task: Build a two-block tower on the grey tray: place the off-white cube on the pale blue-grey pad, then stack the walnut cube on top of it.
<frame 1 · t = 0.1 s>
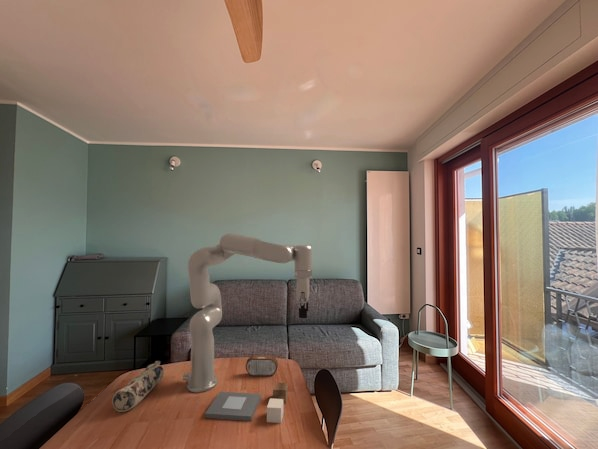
hand: (303, 314, 109), 31 cm above the table, tool pointing down, fingers open, 9 cm apart
off-white block: (275, 417, 90), on the table
walnut block: (280, 399, 101), on the table
grey tray: (234, 407, 96), on the table
tin: (261, 375, 119), on the table
pencil case: (139, 398, 103), on the table
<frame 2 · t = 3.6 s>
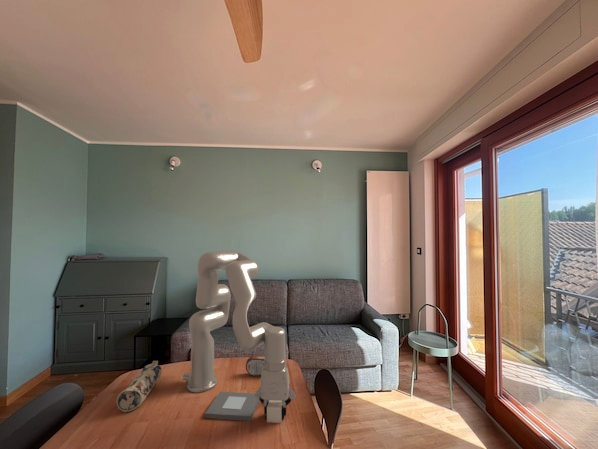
hand: (275, 415, 90), 0 cm above the table, tool pointing down, fingers closed on off-white block, 5 cm apart
off-white block: (275, 417, 90), on the table, touching gripper
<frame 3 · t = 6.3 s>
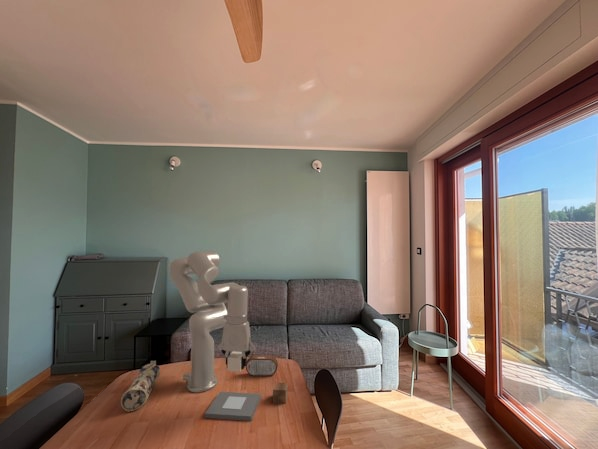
hand: (236, 366, 97), 15 cm above the table, tool pointing down, fingers closed on off-white block, 5 cm apart
off-white block: (236, 368, 97), point 14 cm above the table, touching gripper
when the fingers open (3 cm above the table, at t = 9.2 s): off-white block stays where it is, resting on grey tray.
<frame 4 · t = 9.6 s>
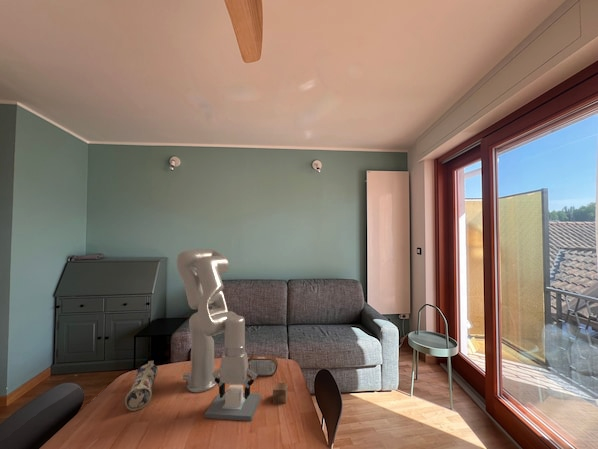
hand: (234, 396, 96), 4 cm above the table, tool pointing down, fingers open, 9 cm apart
off-white block: (234, 402, 96), point 2 cm above the table, touching grey tray
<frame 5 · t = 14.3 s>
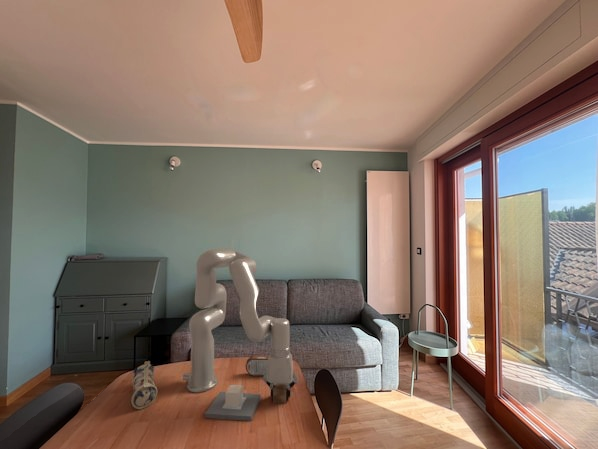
hand: (280, 397, 101), 0 cm above the table, tool pointing down, fingers closed on walnut block, 5 cm apart
walnut block: (280, 399, 101), on the table, touching gripper
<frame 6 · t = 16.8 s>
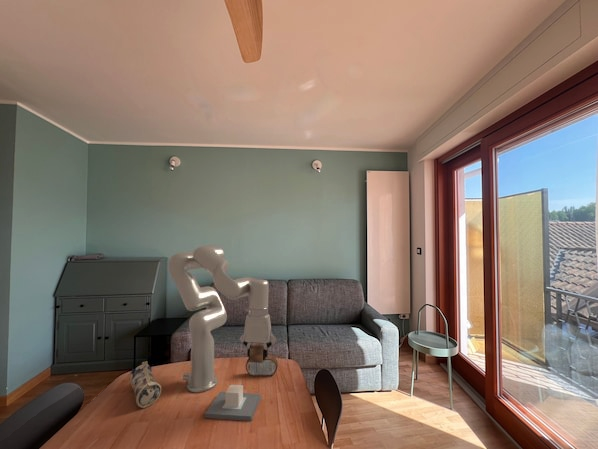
hand: (257, 358, 100), 17 cm above the table, tool pointing down, fingers closed on walnut block, 5 cm apart
walnut block: (257, 359, 100), point 16 cm above the table, touching gripper
when the fingers open (8 cm above the table, at t = 19.5 s): walnut block stays where it is, resting on off-white block.
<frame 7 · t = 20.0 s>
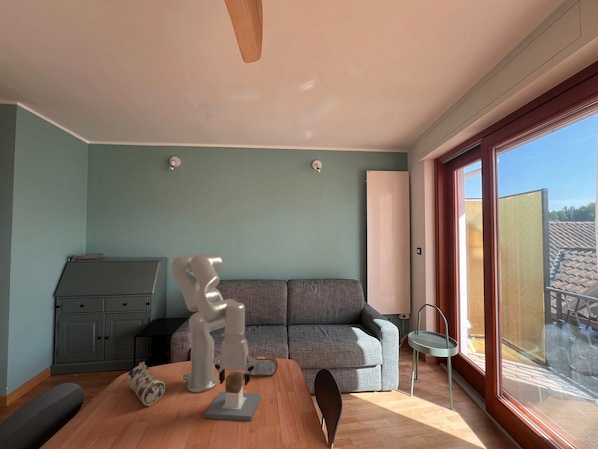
hand: (234, 382, 97), 9 cm above the table, tool pointing down, fingers open, 9 cm apart
off-white block: (234, 402, 96), point 2 cm above the table, touching grey tray, walnut block
walnut block: (234, 388, 97), point 7 cm above the table, touching off-white block
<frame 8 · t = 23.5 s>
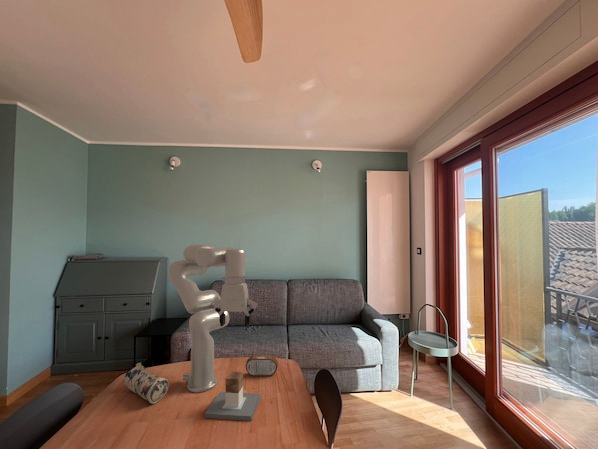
hand: (234, 325, 98), 30 cm above the table, tool pointing down, fingers open, 9 cm apart
at the end: off-white block inside the target area on the grey tray (0.1 cm from its centre), point 1.7 cm above the grey tray's base; walnut block 0.1 cm off-centre on the off-white block, point 5.0 cm above the off-white block's base; walnut block tilted 0° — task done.
